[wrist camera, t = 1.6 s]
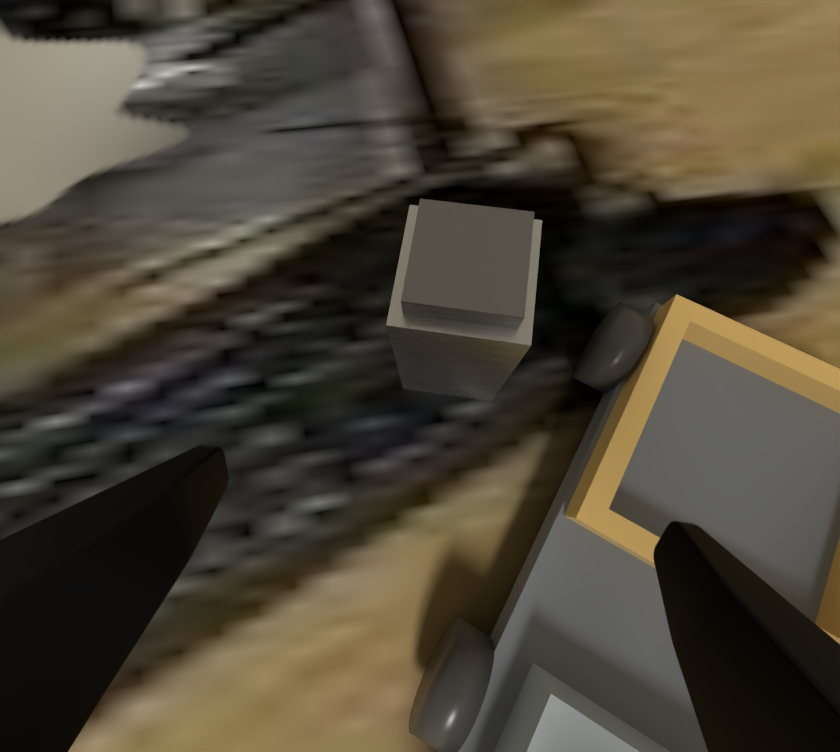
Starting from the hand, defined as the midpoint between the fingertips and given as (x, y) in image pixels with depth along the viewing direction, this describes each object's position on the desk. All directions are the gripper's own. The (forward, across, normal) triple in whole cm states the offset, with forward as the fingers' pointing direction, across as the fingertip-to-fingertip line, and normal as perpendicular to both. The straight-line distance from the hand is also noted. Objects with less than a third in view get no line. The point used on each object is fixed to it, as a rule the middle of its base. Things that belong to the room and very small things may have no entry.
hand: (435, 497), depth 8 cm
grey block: (+15, 0, +4) cm, 15 cm away
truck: (+8, -11, +11) cm, 18 cm away
